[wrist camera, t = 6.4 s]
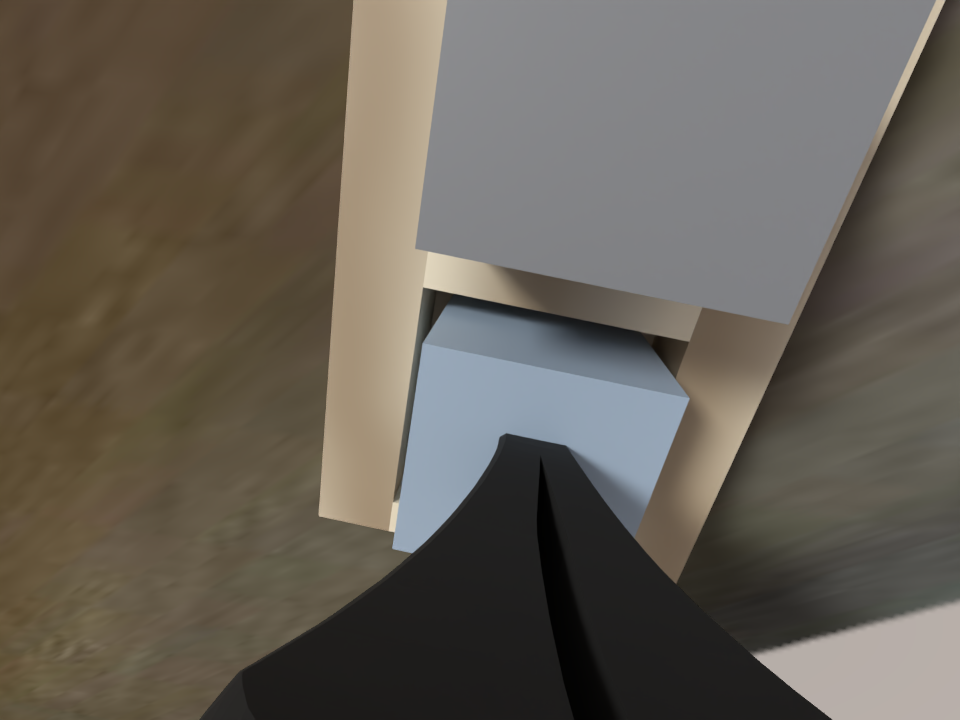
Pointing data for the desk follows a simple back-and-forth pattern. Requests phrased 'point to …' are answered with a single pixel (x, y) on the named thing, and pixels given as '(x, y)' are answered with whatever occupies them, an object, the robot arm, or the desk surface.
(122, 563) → the desk surface
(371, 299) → the board
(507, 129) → the grey block
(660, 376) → the light blue block
